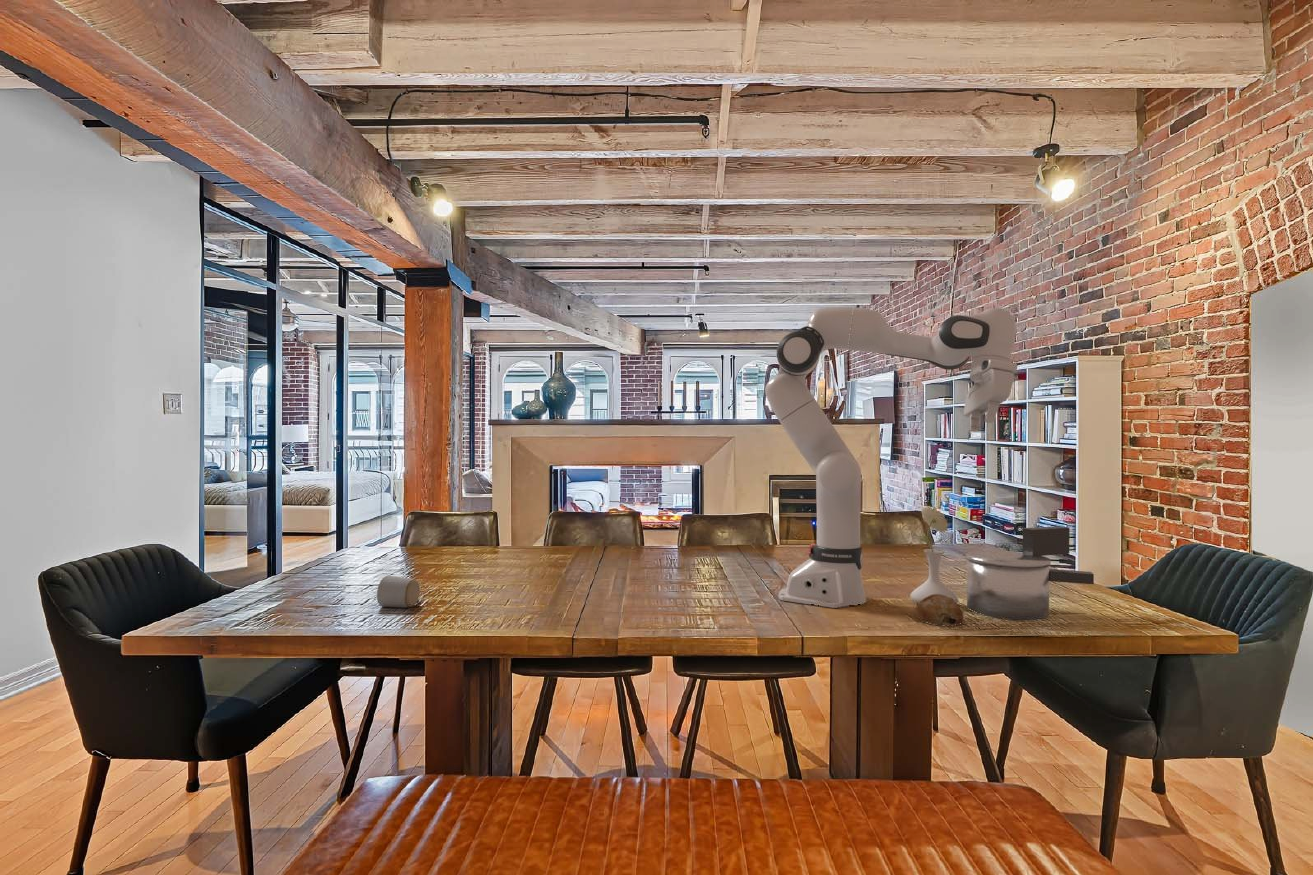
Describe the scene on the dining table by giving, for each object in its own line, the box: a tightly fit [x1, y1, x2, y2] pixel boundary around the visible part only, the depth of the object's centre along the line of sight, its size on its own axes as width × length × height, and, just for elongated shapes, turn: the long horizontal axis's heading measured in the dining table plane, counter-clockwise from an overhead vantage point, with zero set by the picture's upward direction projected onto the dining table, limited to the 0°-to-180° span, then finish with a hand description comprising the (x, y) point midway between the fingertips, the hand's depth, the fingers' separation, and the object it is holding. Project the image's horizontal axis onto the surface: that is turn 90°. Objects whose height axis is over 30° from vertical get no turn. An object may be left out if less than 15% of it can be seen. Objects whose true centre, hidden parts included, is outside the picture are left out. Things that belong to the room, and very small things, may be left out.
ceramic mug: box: [376, 575, 421, 609], centre depth 170 cm, size 11×8×8 cm
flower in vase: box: [909, 505, 959, 604], centre depth 172 cm, size 13×11×25 cm
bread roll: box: [914, 594, 964, 627], centre depth 157 cm, size 10×10×8 cm
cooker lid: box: [965, 525, 1070, 568], centre depth 167 cm, size 28×19×8 cm
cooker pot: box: [966, 559, 1095, 622], centre depth 164 cm, size 27×18×12 cm, turn 68°
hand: (981, 426), depth 163 cm, fingers open, 8 cm apart
